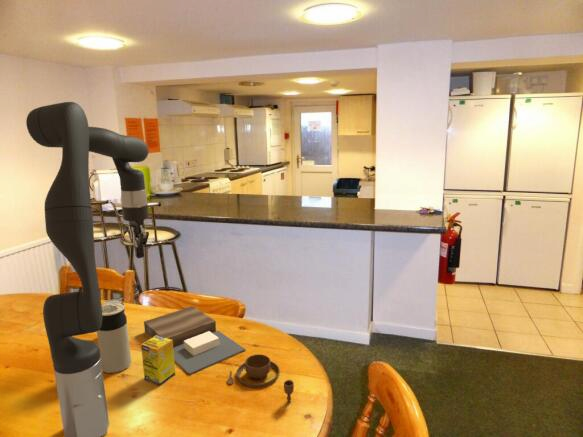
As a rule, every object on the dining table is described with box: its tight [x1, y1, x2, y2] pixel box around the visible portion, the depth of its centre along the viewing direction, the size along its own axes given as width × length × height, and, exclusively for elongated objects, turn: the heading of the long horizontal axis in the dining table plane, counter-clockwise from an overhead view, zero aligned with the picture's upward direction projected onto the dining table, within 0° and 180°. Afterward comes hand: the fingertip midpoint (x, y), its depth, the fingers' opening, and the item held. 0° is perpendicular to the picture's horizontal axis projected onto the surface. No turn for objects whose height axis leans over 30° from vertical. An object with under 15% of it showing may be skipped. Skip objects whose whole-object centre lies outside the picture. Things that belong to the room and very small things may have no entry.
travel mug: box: [96, 303, 132, 374], centre depth 118 cm, size 8×8×18 cm
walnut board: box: [143, 305, 217, 348], centre depth 138 cm, size 16×18×4 cm
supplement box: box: [140, 335, 176, 386], centre depth 113 cm, size 6×6×11 cm
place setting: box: [226, 353, 295, 404], centre depth 110 cm, size 18×20×6 cm
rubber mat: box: [173, 330, 246, 376], centre depth 127 cm, size 16×19×1 cm
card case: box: [184, 331, 220, 356], centre depth 128 cm, size 6×9×2 cm, turn 131°
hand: (140, 257), depth 131 cm, fingers closed
